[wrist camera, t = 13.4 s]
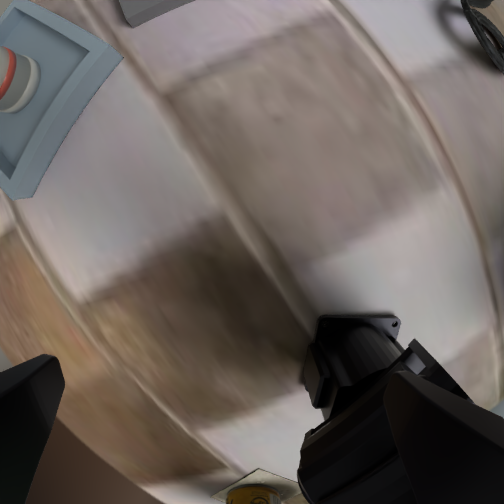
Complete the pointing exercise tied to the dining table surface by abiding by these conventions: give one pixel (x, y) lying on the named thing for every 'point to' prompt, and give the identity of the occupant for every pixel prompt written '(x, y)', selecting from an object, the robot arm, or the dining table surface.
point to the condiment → (259, 490)
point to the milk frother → (500, 57)
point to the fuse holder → (147, 9)
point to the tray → (47, 90)
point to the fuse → (17, 80)
